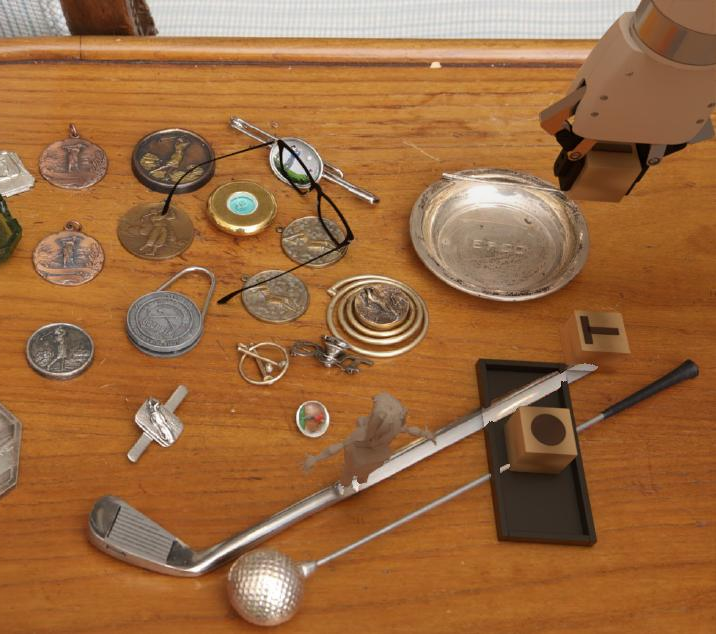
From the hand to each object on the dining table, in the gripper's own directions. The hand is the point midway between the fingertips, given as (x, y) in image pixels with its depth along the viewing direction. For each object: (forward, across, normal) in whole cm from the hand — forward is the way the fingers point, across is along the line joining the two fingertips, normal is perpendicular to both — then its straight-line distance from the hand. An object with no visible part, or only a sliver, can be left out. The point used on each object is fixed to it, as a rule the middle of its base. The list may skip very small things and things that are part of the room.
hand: (591, 179), depth 83 cm
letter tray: (+15, +3, +20) cm, 26 cm away
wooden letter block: (+15, -4, +9) cm, 18 cm away
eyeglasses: (+16, +29, -3) cm, 33 cm away
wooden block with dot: (+15, +3, +20) cm, 25 cm away
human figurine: (+16, +20, +26) cm, 36 cm away
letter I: (0, 0, 0) cm, 0 cm away
